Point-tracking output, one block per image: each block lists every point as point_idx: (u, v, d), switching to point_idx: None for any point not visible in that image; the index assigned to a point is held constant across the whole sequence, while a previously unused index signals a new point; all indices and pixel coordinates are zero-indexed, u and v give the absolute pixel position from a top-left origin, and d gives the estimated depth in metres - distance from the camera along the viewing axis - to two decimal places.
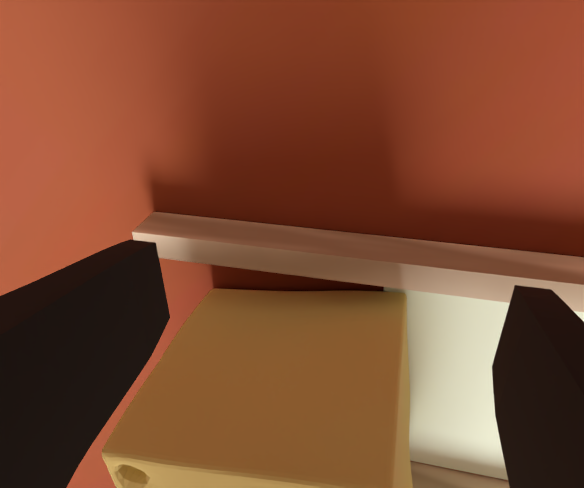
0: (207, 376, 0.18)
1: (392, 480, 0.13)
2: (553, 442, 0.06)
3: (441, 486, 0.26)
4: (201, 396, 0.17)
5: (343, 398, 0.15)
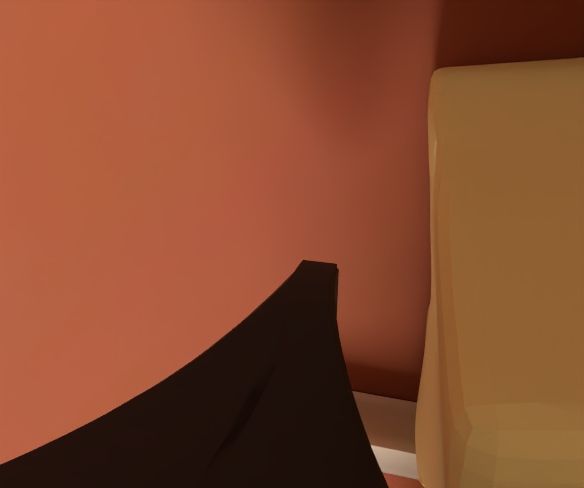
0: None
1: None
2: None
3: None
4: None
5: None
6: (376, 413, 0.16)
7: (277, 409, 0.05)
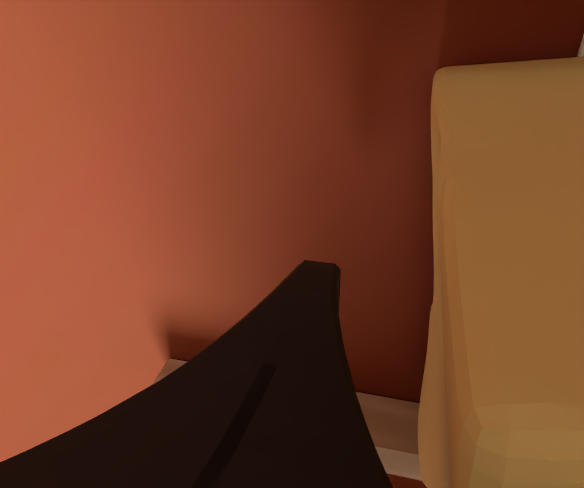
0: None
1: None
2: None
3: None
4: None
5: None
6: None
7: (280, 409, 0.05)
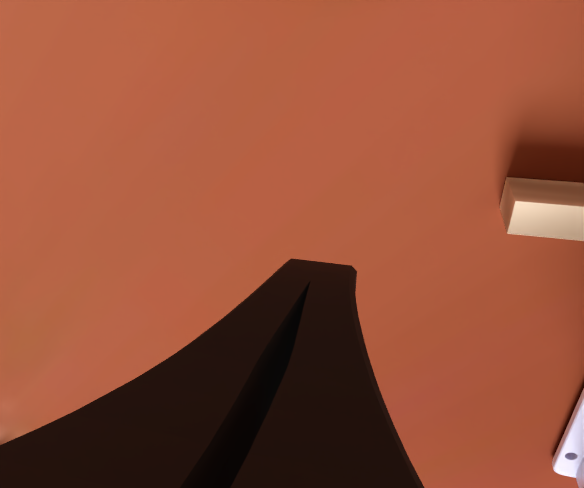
0: None
1: None
2: None
3: None
4: None
5: None
6: None
7: (309, 415, 0.05)
